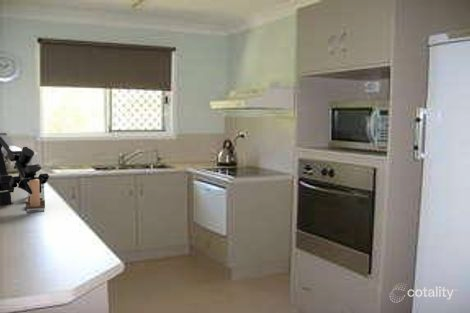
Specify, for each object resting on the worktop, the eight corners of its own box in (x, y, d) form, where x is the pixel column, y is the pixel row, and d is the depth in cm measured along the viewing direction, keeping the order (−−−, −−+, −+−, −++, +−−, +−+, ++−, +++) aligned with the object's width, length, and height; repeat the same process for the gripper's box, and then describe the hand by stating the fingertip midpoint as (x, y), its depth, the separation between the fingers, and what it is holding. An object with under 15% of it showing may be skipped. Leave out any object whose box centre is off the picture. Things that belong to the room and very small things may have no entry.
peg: (28, 205, 239) (27, 180, 238) (36, 204, 242) (35, 179, 241) (33, 206, 236) (32, 180, 235) (42, 205, 240) (41, 179, 239)
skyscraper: (35, 197, 280) (33, 150, 278) (24, 197, 282) (22, 150, 280) (43, 195, 288) (41, 149, 286) (32, 195, 290) (30, 149, 287)
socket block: (26, 206, 252) (26, 198, 252) (44, 205, 255) (44, 197, 255) (26, 209, 244) (25, 201, 243) (45, 207, 247) (44, 200, 247)
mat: (27, 210, 241) (27, 209, 241) (44, 208, 244) (44, 207, 244) (26, 213, 234) (26, 211, 234) (44, 211, 237) (44, 210, 237)
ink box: (36, 200, 269) (35, 180, 268) (28, 200, 270) (27, 180, 269) (45, 198, 278) (44, 178, 277) (37, 198, 279) (36, 178, 278)
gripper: (10, 160, 232) (23, 184, 226) (46, 157, 247) (59, 180, 241) (3, 175, 238) (15, 199, 232) (39, 171, 252) (51, 194, 246)
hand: (36, 192), depth 238 cm, fingers closed on peg, 4 cm apart
